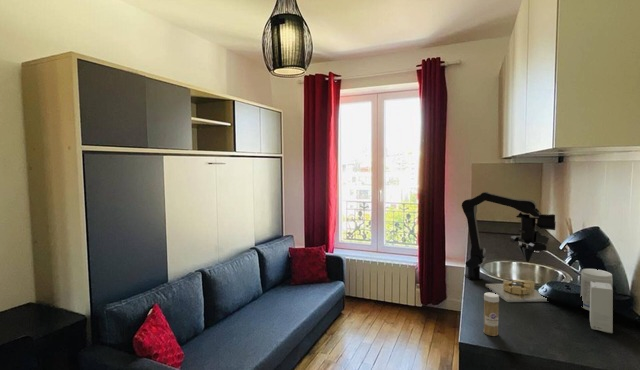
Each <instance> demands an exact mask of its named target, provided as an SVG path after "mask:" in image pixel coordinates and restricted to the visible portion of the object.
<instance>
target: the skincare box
mask: <svg viewBox="0 0 640 370" xmlns="http://www.w3.org/2000/svg"><path fill="white" fill-rule="evenodd" d="M613 293H614V290H613V285H612V286H611V284H608V283H600V282H592V281H591V282H590V311H589V323H590V324H589V325H590V328H591V329H592V330H595V331H601V332H604V333H607V334H613V333H614V331H613V329H614V328H613V325H614V324H613V323H614V321H613V318H614V316H613V314H614V312H613V311H614V308H613V305H614V303H613V301H614V300H613V296H614V295H613Z"/></svg>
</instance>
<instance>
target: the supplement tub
mask: <svg viewBox="0 0 640 370" xmlns="http://www.w3.org/2000/svg"><path fill="white" fill-rule="evenodd" d="M597 269H598V268H597ZM597 269H596V268H583V269H581V274H580V297H581V296H582V301H583V307H582V309H584V310H587V311H588V312H590V282H591V281H592V282H600V283H608V284H611V286H612V287H613V281H614V280H613V274H612V273H611V272H609V271H606V270H602V269H598V270H597Z"/></svg>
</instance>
